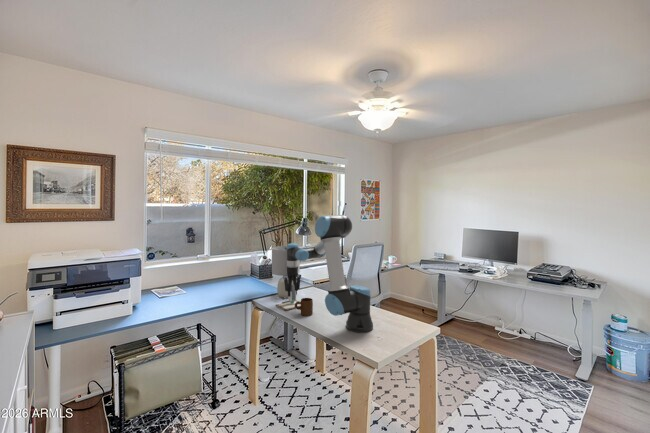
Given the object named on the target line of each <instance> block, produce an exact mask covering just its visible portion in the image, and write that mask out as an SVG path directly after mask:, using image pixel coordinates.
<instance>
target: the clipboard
mask: <svg viewBox="0 0 650 433" xmlns="http://www.w3.org/2000/svg"><path fill="white" fill-rule="evenodd" d="M298 301H299V300H297V299H296V300H294V303H290V301H289V300H285V301H282V302H281V303H279V304H278V303H276V304H275V306H276V307H278V308H279V309H281V310H284V311H285V312H288V311H291V310H295V309H296V308H295V303H296V302H298ZM297 306H298V307H301V304H297ZM296 310H297V309H296Z"/></svg>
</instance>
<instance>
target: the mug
mask: <svg viewBox="0 0 650 433" xmlns="http://www.w3.org/2000/svg"><path fill="white" fill-rule="evenodd" d="M313 300H314V299H313V298H312V297H302V298H301V299H300V300H297V301H298V302H296V303H295V308H296V310H300V315H301V316H302V317H310V316H312V315H313V313H314V312H313V310H314V306H313V304H314V301H313ZM297 304H301V307H298V306H297Z"/></svg>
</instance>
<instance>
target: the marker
mask: <svg viewBox="0 0 650 433" xmlns="http://www.w3.org/2000/svg"><path fill="white" fill-rule="evenodd" d="M291 292H292V301H290V303H294V299H295V285H293V284H292V285H291Z"/></svg>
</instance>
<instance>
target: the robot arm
mask: <svg viewBox="0 0 650 433" xmlns="http://www.w3.org/2000/svg"><path fill="white" fill-rule="evenodd" d="M352 229H353V223H352V221H351V218H349V217H348V216H346V215H343V214H339V215H338V214H337V215H336V214H335V215H334V214H329V215H328V214H327V215H321V216H319V217H318V218H317V219H316V222H315V224H314V233H315V235H316V236H317V237H319V238H320V241H319V242H318V243H316V245H314V246H312V247H303V248H302V247H301V248H300V247H299V244H298V243H295V242H293V243H288V244H287V245H286V246H287V276H286V277H283V276H282V277H283V278H284V283H285V291H288V296H289V298H288V301H292V292H291V285H292V280H293V285H295V299H294V300H296V301H297V295H298V291H299V290H300V286H301V277H302V274H300V273H298V260H300V262H304V261H307V260H312V259H321V258H324V257H325V260H326V267H327V268H326V269H327V274H328V280H329V281H328V282H329V288H328V290H327V295H326V296H325V299H324V303H325V307H326V310H327V312H328V313H330V315H332V316H335V317H336V316H342V315H345V314H348V317H347V320H346V324H345V325H346V326H345V327H346V329H347V330H349V331H352V332H355V333H368V332H371V331H372V330H373V329H374V323H373V320H372V316H371V296H372V295H371V289H370V288H368V287H366V286H364V285H356V284H354V285H353V284H352V285H350V286H348V285H347V284H346V277H345V272H344V266H343V265H344V264H343V258H342V251H341V244H340V241H341V239H344V238H346V237H347V236H349V235H350V233H351V232H352ZM298 247H299V248H298ZM287 279H288V280H287Z"/></svg>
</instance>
